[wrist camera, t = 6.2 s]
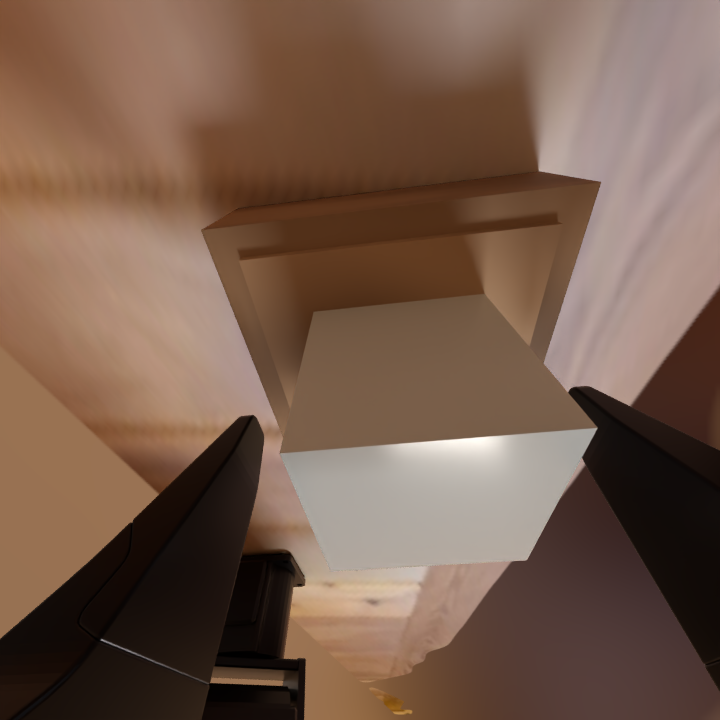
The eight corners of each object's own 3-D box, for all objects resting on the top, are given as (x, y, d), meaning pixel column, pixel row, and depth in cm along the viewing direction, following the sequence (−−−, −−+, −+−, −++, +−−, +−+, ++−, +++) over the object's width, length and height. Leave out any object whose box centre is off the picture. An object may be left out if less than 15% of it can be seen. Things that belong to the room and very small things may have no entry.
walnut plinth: (492, 397, 16) (519, 449, 13) (302, 413, 16) (292, 466, 13) (539, 171, 10) (608, 183, 7) (237, 208, 10) (197, 232, 8)
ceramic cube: (466, 413, 12) (526, 559, 8) (339, 424, 12) (330, 571, 8) (484, 293, 9) (598, 428, 5) (313, 311, 9) (279, 453, 5)
